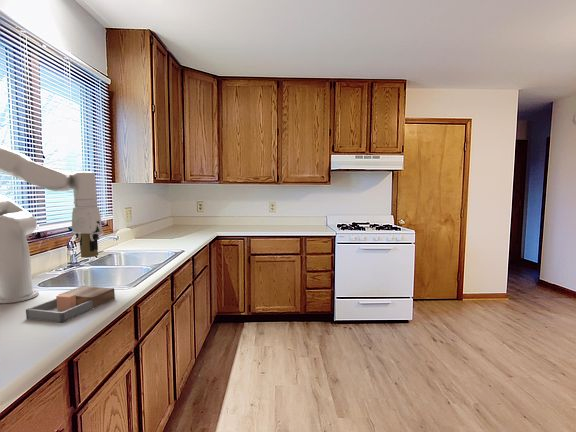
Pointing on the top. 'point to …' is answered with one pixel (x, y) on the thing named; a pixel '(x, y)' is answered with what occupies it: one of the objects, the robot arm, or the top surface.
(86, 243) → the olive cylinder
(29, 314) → the box
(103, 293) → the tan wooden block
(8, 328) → the top surface
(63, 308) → the tile
